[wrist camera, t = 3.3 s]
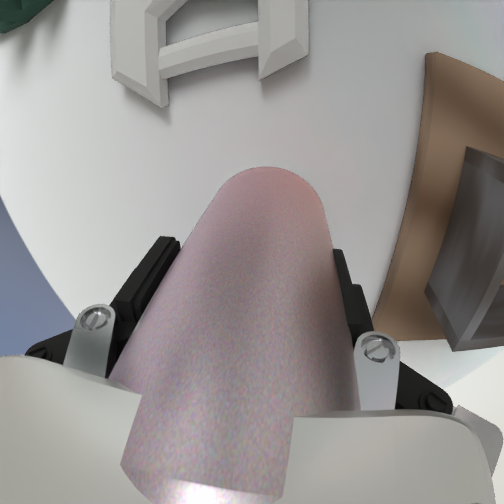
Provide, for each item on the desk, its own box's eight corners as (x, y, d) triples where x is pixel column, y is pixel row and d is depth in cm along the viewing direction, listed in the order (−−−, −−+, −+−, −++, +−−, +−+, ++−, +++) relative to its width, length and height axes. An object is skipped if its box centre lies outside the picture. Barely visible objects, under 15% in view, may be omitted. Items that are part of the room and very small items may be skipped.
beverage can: (302, 274, 18) (294, 557, 5) (205, 247, 17) (93, 515, 5) (339, 183, 14) (443, 544, 2) (226, 149, 14) (-9, 472, 1)
